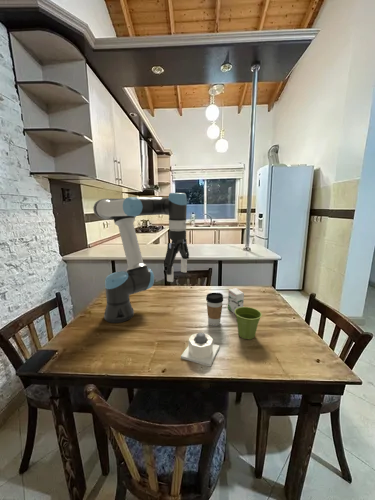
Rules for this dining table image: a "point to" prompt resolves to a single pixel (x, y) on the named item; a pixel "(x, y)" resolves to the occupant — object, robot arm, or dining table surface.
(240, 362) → the dining table surface
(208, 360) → the white square plate
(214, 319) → the coffee cup
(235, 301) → the ink box
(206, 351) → the collar
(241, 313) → the plant pot
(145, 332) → the dining table surface
